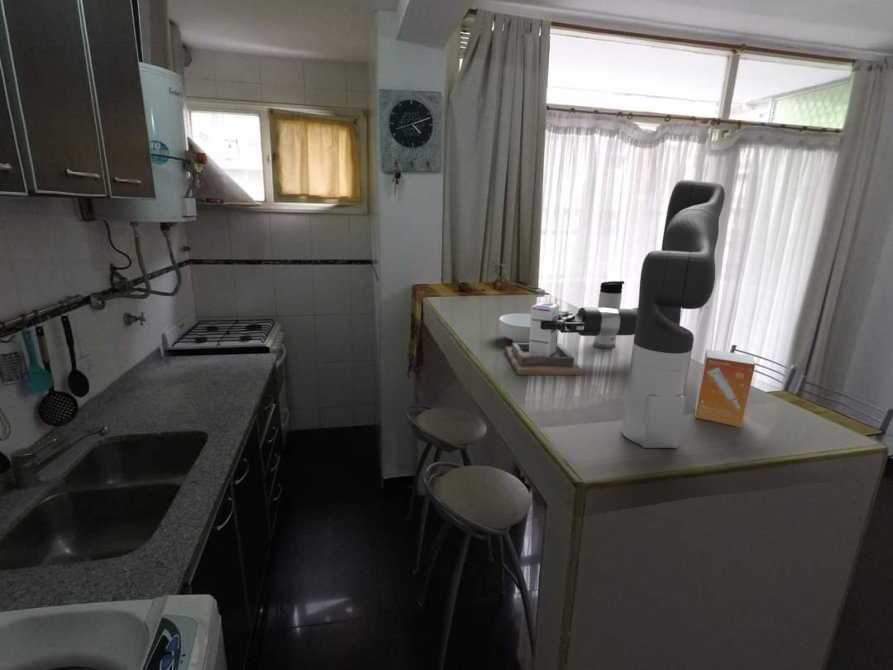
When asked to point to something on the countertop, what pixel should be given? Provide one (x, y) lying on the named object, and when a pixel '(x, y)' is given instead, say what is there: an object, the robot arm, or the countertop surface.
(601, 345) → the travel mug
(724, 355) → the small box
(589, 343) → the countertop surface
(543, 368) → the wooden tray
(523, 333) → the cereal bowl
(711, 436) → the countertop surface
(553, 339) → the syrup box
